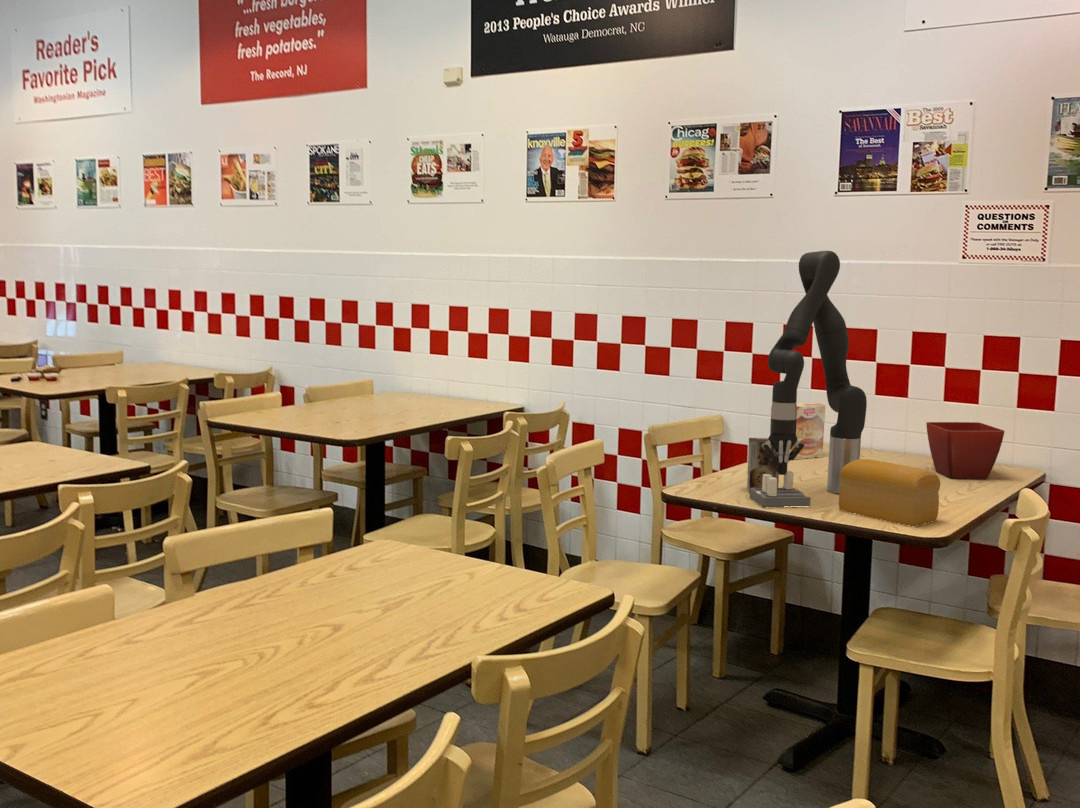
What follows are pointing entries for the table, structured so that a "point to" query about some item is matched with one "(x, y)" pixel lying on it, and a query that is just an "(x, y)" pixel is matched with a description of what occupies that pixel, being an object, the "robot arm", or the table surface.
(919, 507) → the bread
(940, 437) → the plant pot
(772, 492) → the tab
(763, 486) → the tab
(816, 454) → the coffeecake box
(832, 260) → the robot arm
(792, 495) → the switch panel
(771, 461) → the coffee box
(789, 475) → the tab
